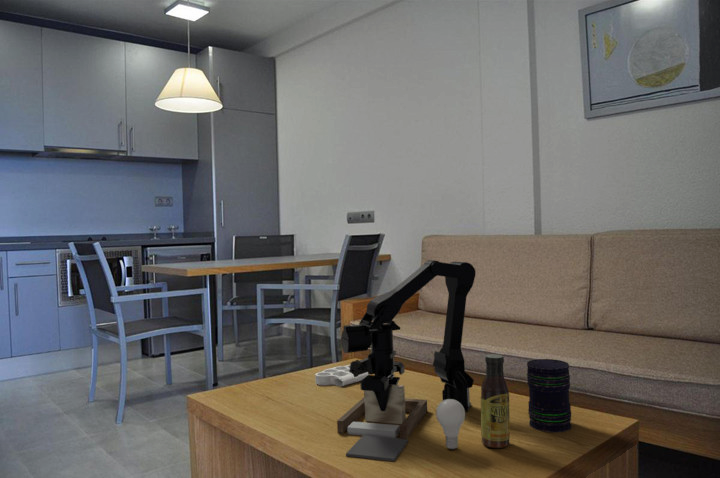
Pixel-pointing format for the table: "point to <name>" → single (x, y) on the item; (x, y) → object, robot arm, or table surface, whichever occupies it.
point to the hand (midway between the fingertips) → (384, 408)
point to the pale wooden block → (393, 408)
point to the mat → (377, 448)
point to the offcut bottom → (374, 435)
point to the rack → (406, 428)
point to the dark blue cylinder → (549, 395)
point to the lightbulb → (450, 420)
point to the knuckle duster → (338, 376)
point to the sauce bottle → (495, 404)
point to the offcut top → (373, 428)
